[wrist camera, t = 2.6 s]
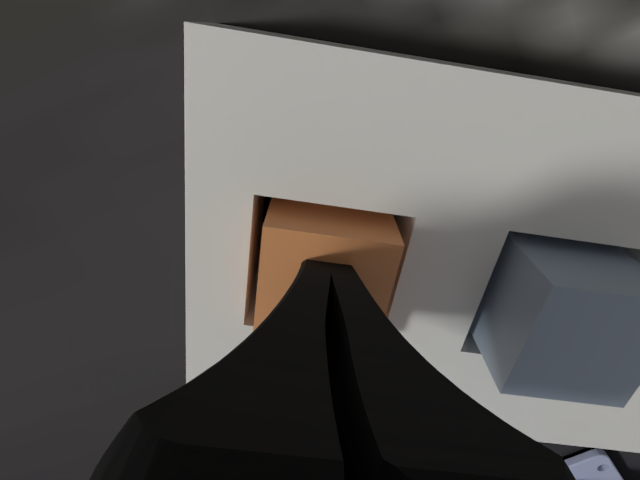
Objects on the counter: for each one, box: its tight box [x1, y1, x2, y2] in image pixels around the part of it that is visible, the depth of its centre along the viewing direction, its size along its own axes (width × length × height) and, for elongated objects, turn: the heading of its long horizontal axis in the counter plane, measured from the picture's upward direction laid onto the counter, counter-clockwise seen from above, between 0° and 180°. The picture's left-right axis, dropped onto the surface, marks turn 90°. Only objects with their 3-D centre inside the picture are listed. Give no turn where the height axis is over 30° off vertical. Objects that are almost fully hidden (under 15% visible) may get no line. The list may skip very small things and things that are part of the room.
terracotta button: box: [253, 197, 405, 331], centre depth 12 cm, size 4×4×3 cm
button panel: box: [184, 22, 640, 453], centre depth 14 cm, size 22×12×3 cm, turn 82°
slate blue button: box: [469, 231, 640, 408], centre depth 12 cm, size 4×4×3 cm
